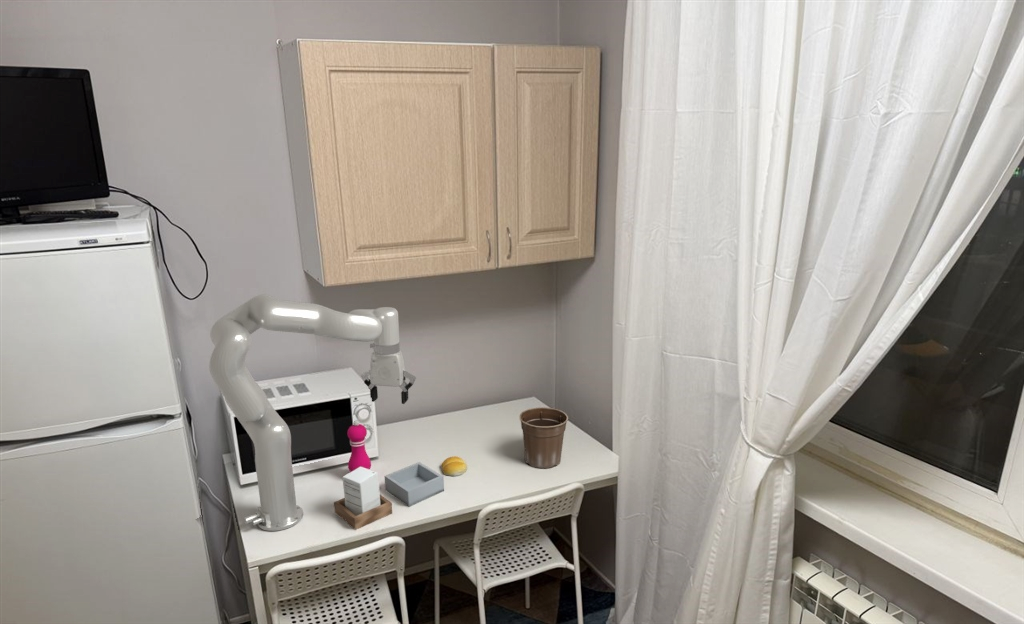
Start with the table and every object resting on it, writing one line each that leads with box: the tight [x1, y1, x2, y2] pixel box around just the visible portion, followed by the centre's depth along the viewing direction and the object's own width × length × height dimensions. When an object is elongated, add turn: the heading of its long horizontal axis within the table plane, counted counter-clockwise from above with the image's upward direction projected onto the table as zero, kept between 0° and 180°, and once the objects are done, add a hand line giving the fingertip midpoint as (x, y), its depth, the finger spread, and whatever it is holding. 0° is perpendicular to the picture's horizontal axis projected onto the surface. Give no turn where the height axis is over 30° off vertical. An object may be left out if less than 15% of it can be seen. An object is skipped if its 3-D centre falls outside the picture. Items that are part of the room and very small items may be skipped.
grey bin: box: [384, 461, 445, 508], centre depth 198 cm, size 13×13×5 cm
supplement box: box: [342, 467, 381, 516], centre depth 185 cm, size 7×7×13 cm
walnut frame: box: [333, 494, 393, 531], centre depth 187 cm, size 12×12×4 cm
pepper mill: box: [347, 420, 372, 473], centre depth 205 cm, size 7×7×20 cm
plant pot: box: [518, 406, 569, 469], centre depth 215 cm, size 16×16×16 cm
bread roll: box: [441, 456, 468, 477], centre depth 211 cm, size 8×9×4 cm
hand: (389, 401), depth 197 cm, fingers open, 9 cm apart
